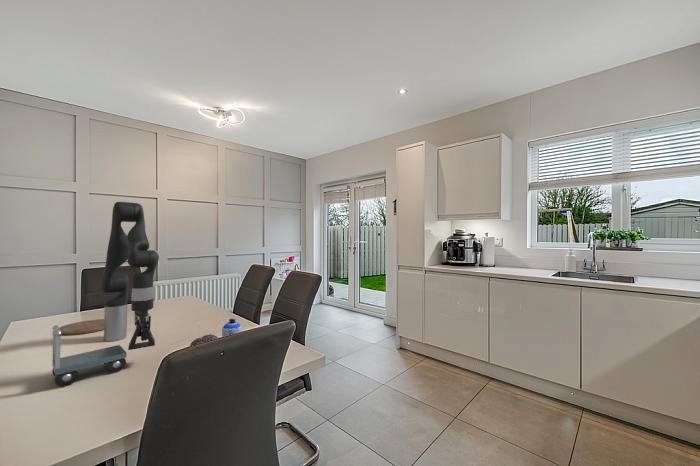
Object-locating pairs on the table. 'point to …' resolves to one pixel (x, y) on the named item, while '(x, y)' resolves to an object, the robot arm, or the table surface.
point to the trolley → (83, 360)
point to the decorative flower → (203, 339)
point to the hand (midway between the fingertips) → (142, 338)
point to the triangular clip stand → (144, 344)
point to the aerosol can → (231, 328)
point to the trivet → (82, 327)
